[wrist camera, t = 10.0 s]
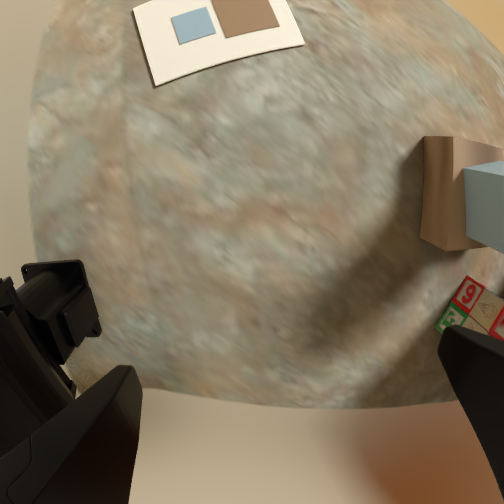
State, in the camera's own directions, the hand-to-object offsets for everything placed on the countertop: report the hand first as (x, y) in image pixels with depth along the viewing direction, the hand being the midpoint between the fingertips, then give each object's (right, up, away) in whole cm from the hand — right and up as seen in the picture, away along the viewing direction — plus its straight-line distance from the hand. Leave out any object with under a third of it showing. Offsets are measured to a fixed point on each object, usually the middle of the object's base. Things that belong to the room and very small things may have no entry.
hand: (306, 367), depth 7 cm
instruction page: (-4, +18, +7) cm, 20 cm away
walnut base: (+16, +8, +12) cm, 22 cm away
